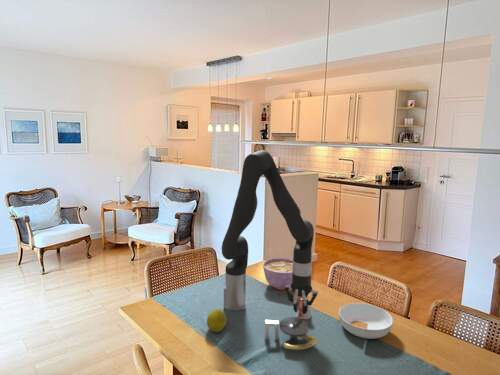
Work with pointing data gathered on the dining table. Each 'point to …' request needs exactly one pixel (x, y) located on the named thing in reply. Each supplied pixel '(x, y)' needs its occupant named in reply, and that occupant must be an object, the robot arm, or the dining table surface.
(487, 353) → the dining table surface
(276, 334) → the grey arch-shaped block
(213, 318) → the lemon
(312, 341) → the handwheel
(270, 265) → the bowl of food
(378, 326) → the serving bowl
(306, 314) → the flask
